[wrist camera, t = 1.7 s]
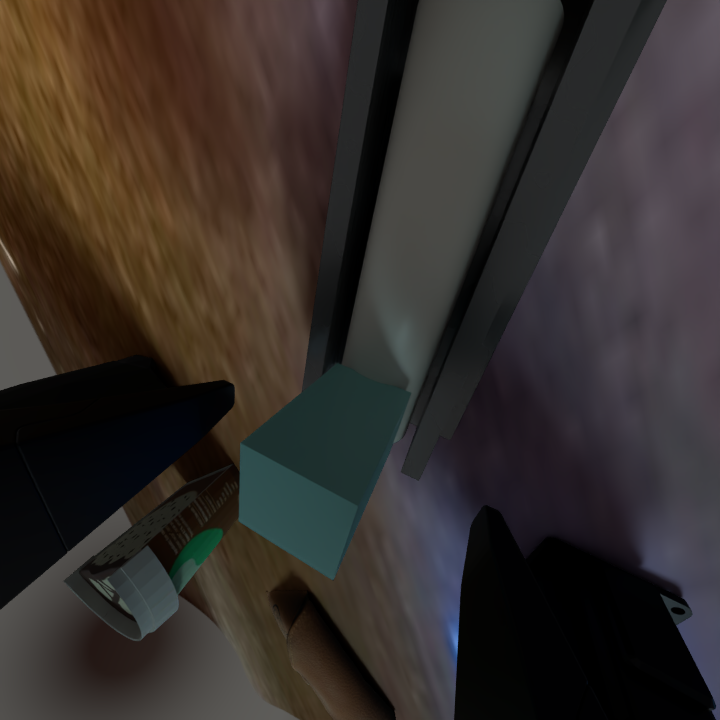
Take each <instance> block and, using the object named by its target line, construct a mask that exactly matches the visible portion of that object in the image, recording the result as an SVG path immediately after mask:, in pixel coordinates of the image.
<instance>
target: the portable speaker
mask: <svg viewBox="0 0 720 720" xmlns="http://www.w3.org/2000/svg"><path fill="white" fill-rule="evenodd" d="M155 367H156V365H155V363H154V361H153V360H152V358H148V357H144V356H139V355H134V356H131V357H128V358H125V359H121V360H118V361H111V362H107V363H103V364H99V365H95V366H91V367H87V368H83V369H79V370H75V371H71V372H67V373H63V374H59V375H55V376H52V377H48V378H43V379H40V380H36V381H32V382H27V383H24V384H20V385H17V386H14V387H10V388H7V389H4V390H1V391H0V410H6V409H15V408H25V407H35V406H44V405H53V404H61V403H69V402H76V401H83V400H90V399H97V398H98V399H100V398H104V397H111V396H118V395H124V394H131V393H138V392H145V391H152V390H158V389H165V388H166V387H165V385H164V384H163V383H162V382H161V380H160V379H159V378H158V377H157V376H156V374H155V373H154V372H153V370H154V369H155Z"/></svg>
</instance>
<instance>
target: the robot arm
mask: <svg viewBox="0 0 720 720" xmlns="http://www.w3.org/2000/svg"><path fill="white" fill-rule="evenodd" d="M234 400H235V387H234V385H233V384H232V383H230V382H228V381H225V380H220V381H213V382H206V383H199V384H192V385H186V386H179V387H172V388H165V389H158V390H152V391H145V392H138V393H131V394H124V395H118V396H111V397H104V398H100V399H98V398H97V399H90V400H83V401H76V402H69V403H61V404H53V405H44V406H35V407H25V408H15V409H6V410H0V609H2V608H3V607H4V606H5V605H6V604H8V602H10V601H11V600H12V599H13V598H15V597H16V596H17V595H18V594H19V593H21V592H22V591H23V590H24V589H25V588H26V587H28V585H30V584H31V583H32V582H34V581H35V580H36V579H37V578H38V577H39V576H41V575H42V574H43V573H44V572H45V571H46V570H48V569H49V568H50V567H51V566H52V565H54V564H55V563H56V562H57V561H58V560H59V559H61V558H62V557H63V556H64V555H65V554H67V551H70V550H71V549H72V548H73V547H75V546H76V545H77V544H78V543H79V542H80V541H82V540H83V539H84V538H85V537H86V536H88V535H89V534H90V533H91V532H92V531H93V530H95V529H96V528H97V527H98V526H99V525H101V524H102V523H103V522H104V521H105V520H106V519H108V518H109V517H110V516H111V515H112V514H114V513H115V512H116V511H117V510H118V509H119V508H121V507H122V506H123V505H124V504H125V503H127V502H128V501H129V500H130V499H131V498H132V497H134V496H135V495H136V494H137V493H138V492H139V491H141V490H142V489H143V488H144V487H145V486H147V485H148V484H149V483H150V482H151V481H152V480H154V479H155V478H156V477H157V476H158V475H160V474H161V473H162V472H163V471H164V470H165V469H167V468H168V467H169V466H170V465H171V464H173V463H174V462H175V461H176V460H177V459H178V458H180V457H181V456H182V455H183V454H184V453H186V452H187V451H188V450H189V449H190V448H191V447H193V446H194V445H195V444H196V443H197V442H198V441H200V440H201V439H202V438H203V437H204V436H205V435H206V434H207V433H208V432H209V431H210V430H211V429H212V428H213V427H214V426H215V425H216V424H217V423H218V422H219V421H220V420H221V419H222V418H223V417H224V416H225V415H226V414H227V413H228V411H229V410H230V409H231V408H232V407H233V405H234ZM691 616H692V611H691V609H690V607H689V605H688V604H687V602H686V601H685V600H684V599H683V598H681V597H679V596H677V595H675V594H673V593H671V592H669V591H667V590H664V589H662V588H660V587H658V586H656V585H654V584H652V583H650V582H648V581H646V580H643V579H641V578H639V577H637V576H635V575H633V574H631V573H629V572H627V571H624V570H622V569H620V568H618V567H616V566H614V565H612V564H610V563H608V562H606V561H603V560H601V559H599V558H597V557H595V556H593V555H591V554H589V553H587V552H584V551H582V550H580V549H578V548H576V547H574V546H572V545H570V544H568V543H566V542H563V541H561V540H559V539H556V538H546V539H545V540H544V541H543V542H542V543H541V544H540V545H539V546H538V547H537V549H536V550H535V551H534V552H533V553H532V554H531V555H530V556H529V557H528V558H527V560H525V558H524V557H523V555H522V553H521V551H520V549H519V547H518V545H517V543H516V541H515V539H514V537H513V535H512V533H511V531H510V530H509V528H508V526H507V524H506V522H505V520H504V518H503V516H502V514H501V513H500V512H499V511H498V510H496V509H494V508H492V507H490V506H488V505H484V506H483V507H482V508H481V510H480V511H479V513H478V514H477V516H476V517H475V519H474V520H473V522H472V525H471V528H470V534H469V540H468V546H467V552H466V558H465V564H464V570H463V577H462V584H461V596H460V615H459V635H458V655H457V674H456V694H455V714H454V720H716V719H715V717H714V715H713V713H712V711H711V710H714V709H715V708H716V705H715V701H714V699H713V697H712V695H711V693H710V691H709V689H708V687H707V685H706V683H705V681H704V679H703V677H702V675H701V673H700V671H699V669H698V667H697V666H696V664H695V662H694V660H693V658H692V656H691V654H690V652H689V650H688V648H687V646H686V644H685V642H684V640H683V638H682V636H681V634H680V632H679V630H678V628H677V626H676V625H677V624H679V623H681V622H683V621H684V620H686V619H688V618H689V617H691Z"/></svg>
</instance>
